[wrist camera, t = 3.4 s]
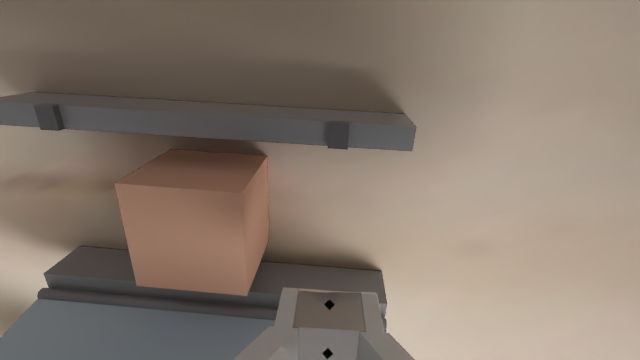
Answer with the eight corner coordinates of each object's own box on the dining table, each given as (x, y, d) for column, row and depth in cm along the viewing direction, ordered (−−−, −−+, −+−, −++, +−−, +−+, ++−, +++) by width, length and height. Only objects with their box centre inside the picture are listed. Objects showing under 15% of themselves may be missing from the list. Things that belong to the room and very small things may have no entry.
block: (267, 155, 16) (241, 192, 12) (269, 238, 18) (247, 295, 14) (171, 148, 17) (114, 183, 12) (183, 231, 18) (136, 285, 14)
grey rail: (405, 114, 15) (417, 128, 12) (379, 285, 19) (385, 323, 16) (33, 92, 16) (-28, 101, 13) (83, 259, 20) (44, 292, 17)
